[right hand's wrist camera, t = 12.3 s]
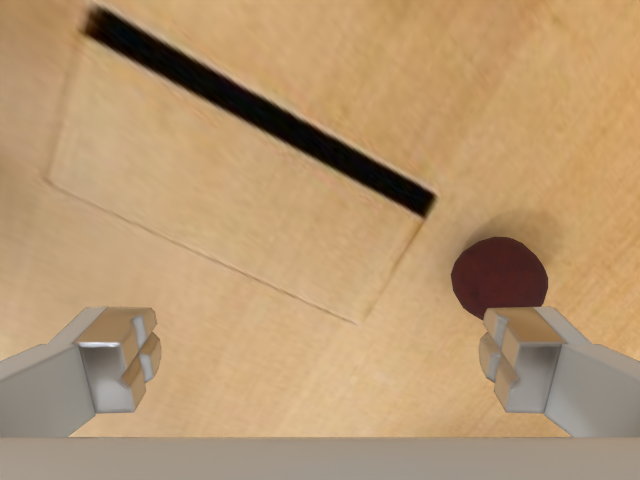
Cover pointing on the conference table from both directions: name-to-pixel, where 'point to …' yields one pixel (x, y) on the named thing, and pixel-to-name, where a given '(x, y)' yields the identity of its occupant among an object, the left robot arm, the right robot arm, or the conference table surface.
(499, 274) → the potato
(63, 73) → the conference table surface
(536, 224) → the conference table surface
